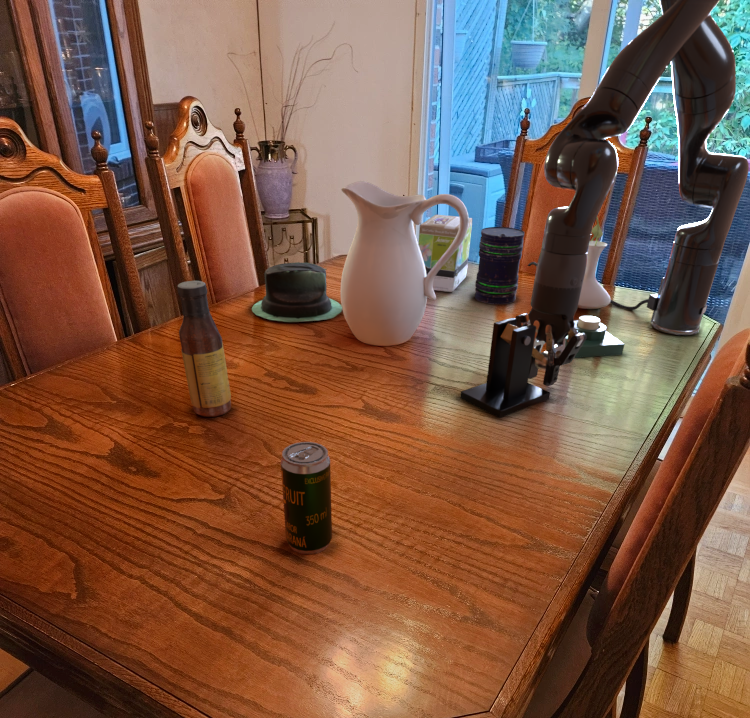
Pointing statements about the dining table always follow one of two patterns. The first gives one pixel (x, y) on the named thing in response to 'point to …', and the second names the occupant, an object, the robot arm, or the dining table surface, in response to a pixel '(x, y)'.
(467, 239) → the tea box
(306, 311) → the fedora hat
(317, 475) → the green drink can
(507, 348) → the bracket
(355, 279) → the pitcher
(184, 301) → the sauce bottle
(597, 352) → the switch block
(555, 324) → the robot arm
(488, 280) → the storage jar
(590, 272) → the flower in vase
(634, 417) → the dining table surface
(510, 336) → the lever
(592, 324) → the button
